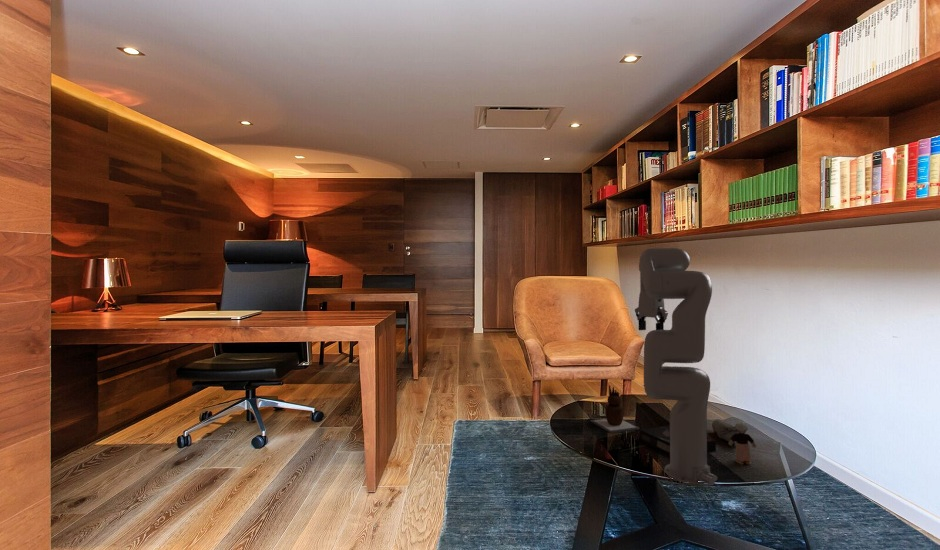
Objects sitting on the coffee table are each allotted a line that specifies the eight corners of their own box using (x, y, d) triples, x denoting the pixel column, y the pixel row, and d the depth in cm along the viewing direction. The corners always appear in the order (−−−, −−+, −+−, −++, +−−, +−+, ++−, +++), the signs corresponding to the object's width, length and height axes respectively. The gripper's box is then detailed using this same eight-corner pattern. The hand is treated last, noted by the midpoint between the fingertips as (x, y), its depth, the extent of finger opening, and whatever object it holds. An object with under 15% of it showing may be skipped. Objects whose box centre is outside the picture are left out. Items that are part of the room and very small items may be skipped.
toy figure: (749, 459, 131) (748, 419, 131) (758, 465, 127) (757, 423, 127) (725, 460, 131) (725, 420, 131) (733, 465, 127) (733, 424, 127)
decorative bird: (722, 433, 154) (722, 413, 154) (747, 451, 138) (747, 429, 138) (707, 432, 155) (707, 412, 155) (730, 450, 139) (730, 428, 139)
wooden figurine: (604, 425, 161) (604, 386, 161) (606, 420, 166) (606, 382, 166) (622, 427, 158) (622, 388, 158) (624, 423, 163) (624, 384, 163)
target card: (639, 429, 158) (639, 427, 158) (610, 433, 154) (610, 431, 154) (617, 418, 170) (617, 416, 170) (590, 421, 166) (590, 420, 166)
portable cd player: (639, 441, 147) (639, 430, 147) (675, 434, 153) (675, 424, 153) (676, 460, 132) (676, 447, 132) (715, 452, 138) (715, 440, 138)
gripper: (674, 289, 158) (675, 333, 158) (643, 288, 175) (643, 328, 175) (658, 289, 156) (659, 334, 156) (628, 288, 173) (628, 329, 173)
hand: (650, 331), depth 165 cm, fingers open, 9 cm apart
